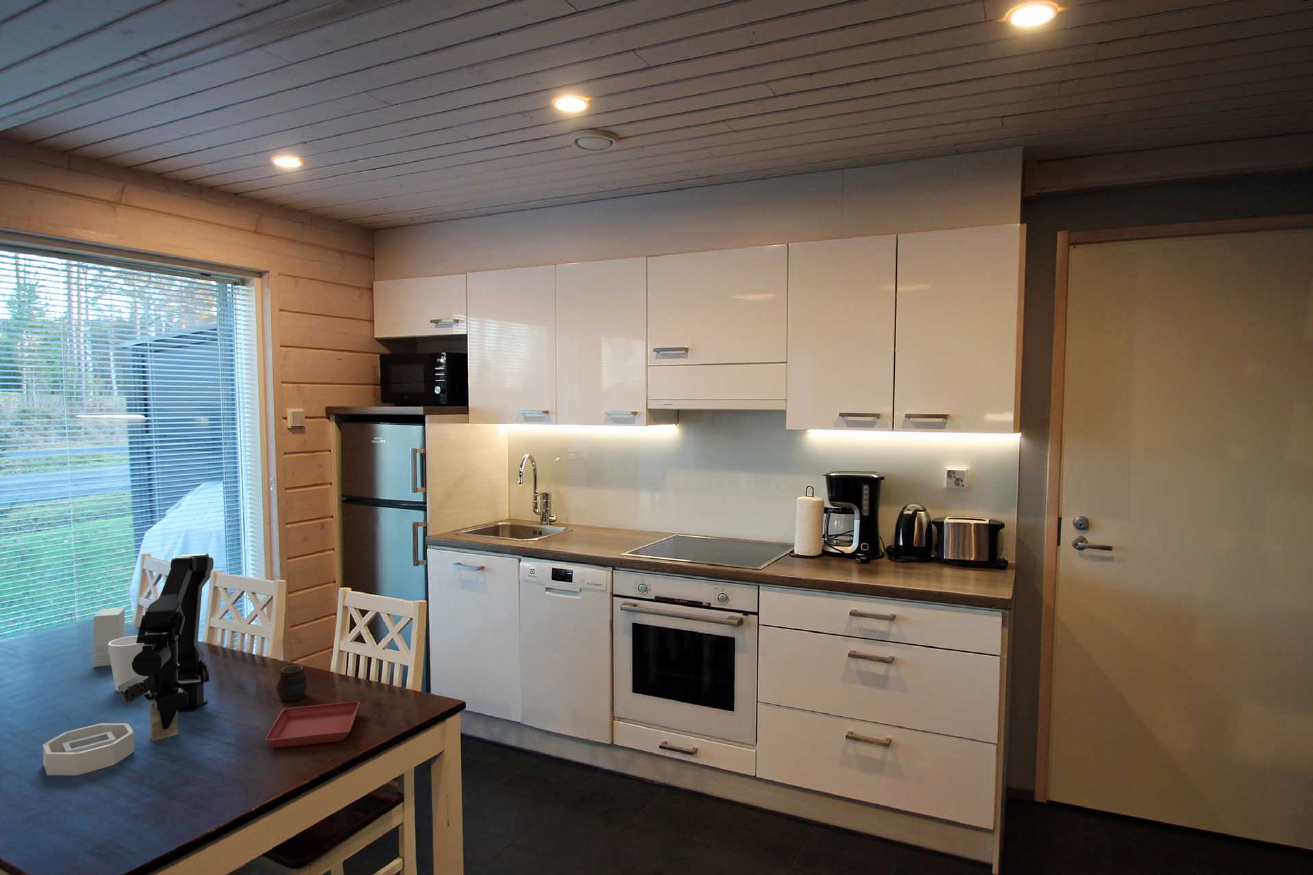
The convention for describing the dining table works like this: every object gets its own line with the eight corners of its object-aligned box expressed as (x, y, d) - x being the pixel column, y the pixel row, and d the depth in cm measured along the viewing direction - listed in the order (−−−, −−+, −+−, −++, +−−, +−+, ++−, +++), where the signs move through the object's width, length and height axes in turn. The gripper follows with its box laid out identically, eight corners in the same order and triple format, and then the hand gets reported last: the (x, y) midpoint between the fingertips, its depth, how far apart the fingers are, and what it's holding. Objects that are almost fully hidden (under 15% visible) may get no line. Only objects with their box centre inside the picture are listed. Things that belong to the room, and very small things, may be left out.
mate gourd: (299, 690, 198) (299, 654, 198) (312, 697, 194) (312, 660, 193) (272, 697, 193) (272, 660, 192) (284, 705, 188) (285, 667, 188)
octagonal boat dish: (138, 758, 159) (138, 737, 159) (49, 782, 148) (49, 761, 148) (124, 736, 169) (123, 717, 169) (40, 757, 158) (40, 737, 158)
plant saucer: (264, 753, 162) (263, 739, 162) (282, 720, 180) (282, 707, 180) (350, 744, 167) (350, 730, 167) (360, 713, 184) (360, 700, 184)
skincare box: (100, 658, 221) (99, 608, 221) (126, 656, 224) (126, 606, 223) (92, 667, 214) (92, 615, 213) (119, 664, 216) (119, 613, 216)
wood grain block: (177, 734, 171) (177, 696, 170) (152, 740, 167) (152, 702, 167) (175, 730, 172) (174, 693, 172) (150, 737, 169) (149, 699, 168)
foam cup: (159, 681, 203) (158, 636, 203) (132, 694, 194) (131, 646, 194) (128, 680, 204) (127, 634, 204) (99, 692, 195) (99, 645, 195)
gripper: (112, 659, 170) (113, 724, 170) (129, 680, 157) (130, 751, 157) (168, 648, 178) (169, 711, 178) (189, 667, 165) (189, 734, 165)
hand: (164, 726), depth 170 cm, fingers open, 3 cm apart
